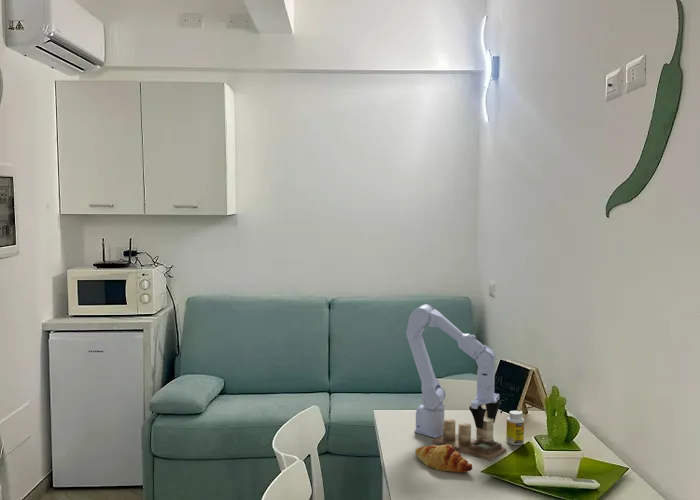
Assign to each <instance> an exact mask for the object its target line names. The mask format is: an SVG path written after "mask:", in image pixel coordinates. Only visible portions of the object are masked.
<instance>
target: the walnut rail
mask: <svg viewBox="0 0 700 500" xmlns="http://www.w3.org/2000/svg"><path fill="white" fill-rule="evenodd" d="M457 433H458V434H457ZM457 433H456V420H455V419H453V418H444V420H443V435H442V436H440V437H438V438H434V439H432V440H431V443H432V444H433V445H436V446H440V445H447V444H448V445H451V446H453V447H454V448H455V451H457V452H460V453H465V454H468V455H470V456H474V457H477V458H481V459H484V460H488V461H491V460H493V459H494V458H496V457H498V456H500V455H502V454H504V453H506V452H507V448H506V447H503V446H502V443H499V442H496V441H492V440H491V441H489V440H485V439H482V438H480V439H478V440H477V439H473V438H472V424H471V423H469V422H459V423H458V432H457Z"/></svg>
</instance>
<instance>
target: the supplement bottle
mask: <svg viewBox="0 0 700 500" xmlns="http://www.w3.org/2000/svg"><path fill="white" fill-rule="evenodd" d="M508 414H509V415H508V417H507V418H506V435H505V436H506V438H505V439H506V443H507V444H510V445H512V446H520V445H523V444H524V440H525V439H524V438H525V436H524V435H525V419H524V418H523V413H522V412H521V411H519V410H510V411H509V413H508Z"/></svg>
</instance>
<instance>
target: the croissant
mask: <svg viewBox="0 0 700 500" xmlns="http://www.w3.org/2000/svg"><path fill="white" fill-rule="evenodd" d="M414 452H415V455H416V456H417V458H418V459H419V461H421V462H422V464H423V465H424V464H425V466H427V467H428V468H432V469H435V470H437V471H442V472H443V471H445V472H452V473H459V474H461V473H462V474H464V473H467V472H470V471H472V470H473V464H472V463H469V461H468V460H467V459H466V458H464V457H463V456H462V455H461V452H460V451H457V450H455V448H454V447H453V446H451V445H448V444H447V445H436V444H433V445H432V444H431V445H428V446H420V447H417V448H415V451H414Z"/></svg>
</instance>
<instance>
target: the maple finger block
mask: <svg viewBox="0 0 700 500" xmlns="http://www.w3.org/2000/svg"><path fill="white" fill-rule="evenodd" d="M475 430H476V432H475V433H476V435H475V436H476V439H475V440H478V439H480V438H482V439H485V440H489V441H492V440H494V423H493V418H489V417H487V416H484V421H483V428H482V429H480V428H476V429H475Z"/></svg>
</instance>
